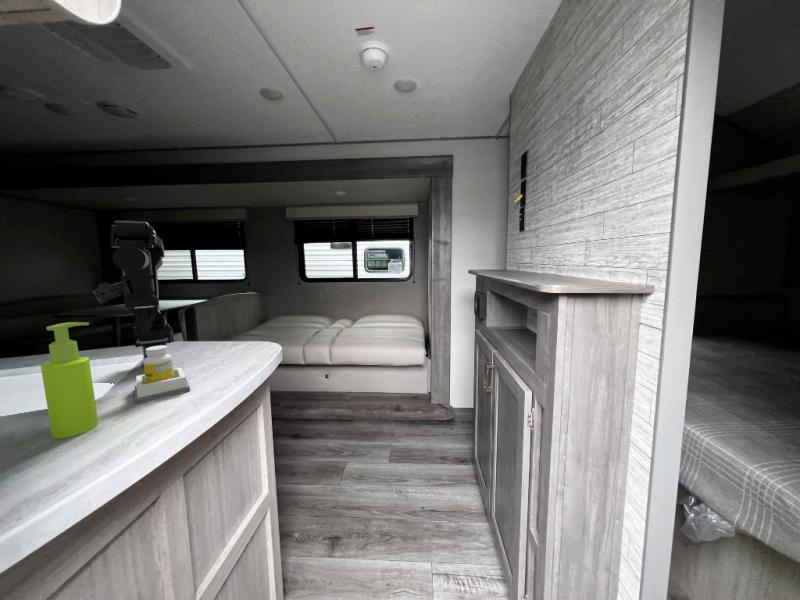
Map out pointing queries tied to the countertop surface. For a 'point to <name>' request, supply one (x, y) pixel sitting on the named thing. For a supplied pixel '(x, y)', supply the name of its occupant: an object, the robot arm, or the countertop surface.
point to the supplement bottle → (158, 364)
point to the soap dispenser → (68, 386)
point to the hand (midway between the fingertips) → (144, 331)
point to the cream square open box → (160, 387)
